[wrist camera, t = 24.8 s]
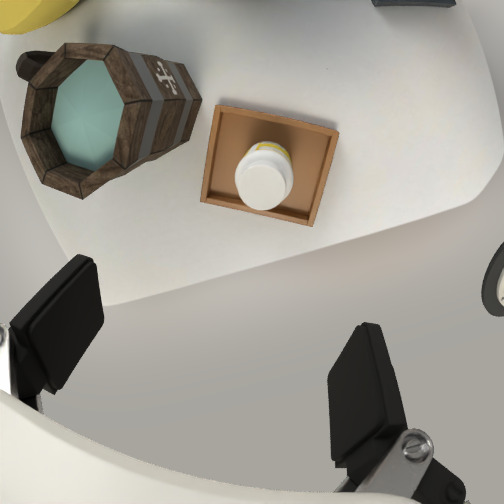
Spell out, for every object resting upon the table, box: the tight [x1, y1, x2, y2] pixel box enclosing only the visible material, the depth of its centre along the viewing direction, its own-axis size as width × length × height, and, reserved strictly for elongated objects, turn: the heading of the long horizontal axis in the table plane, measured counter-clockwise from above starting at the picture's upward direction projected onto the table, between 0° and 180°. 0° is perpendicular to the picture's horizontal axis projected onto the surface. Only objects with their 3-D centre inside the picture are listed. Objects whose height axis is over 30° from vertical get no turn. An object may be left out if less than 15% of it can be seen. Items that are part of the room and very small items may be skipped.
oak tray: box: [200, 105, 339, 227], centre depth 32 cm, size 13×11×2 cm
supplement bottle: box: [235, 141, 294, 210], centre depth 28 cm, size 5×5×10 cm
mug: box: [16, 43, 202, 200], centre depth 23 cm, size 20×14×15 cm
